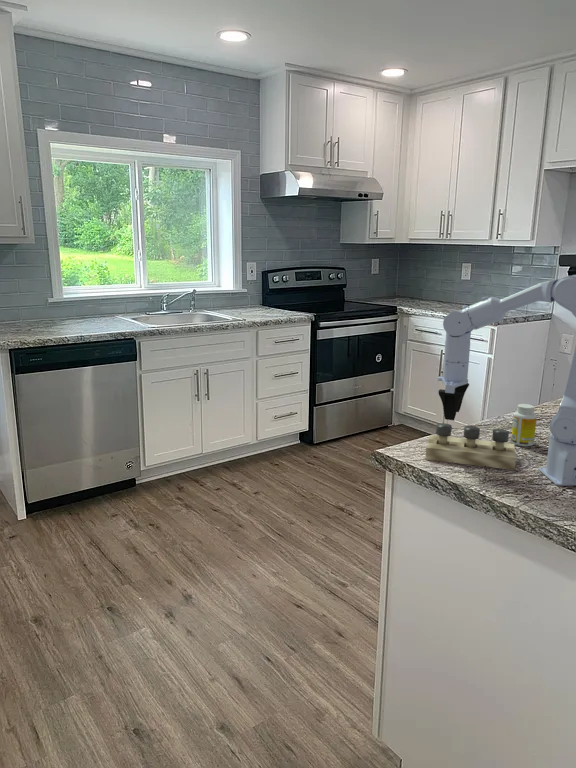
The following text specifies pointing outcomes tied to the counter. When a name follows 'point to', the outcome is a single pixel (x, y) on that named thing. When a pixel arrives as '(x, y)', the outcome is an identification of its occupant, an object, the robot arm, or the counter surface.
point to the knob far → (443, 432)
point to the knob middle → (471, 435)
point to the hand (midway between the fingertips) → (452, 415)
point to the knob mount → (471, 453)
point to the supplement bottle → (524, 425)
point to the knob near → (500, 438)
